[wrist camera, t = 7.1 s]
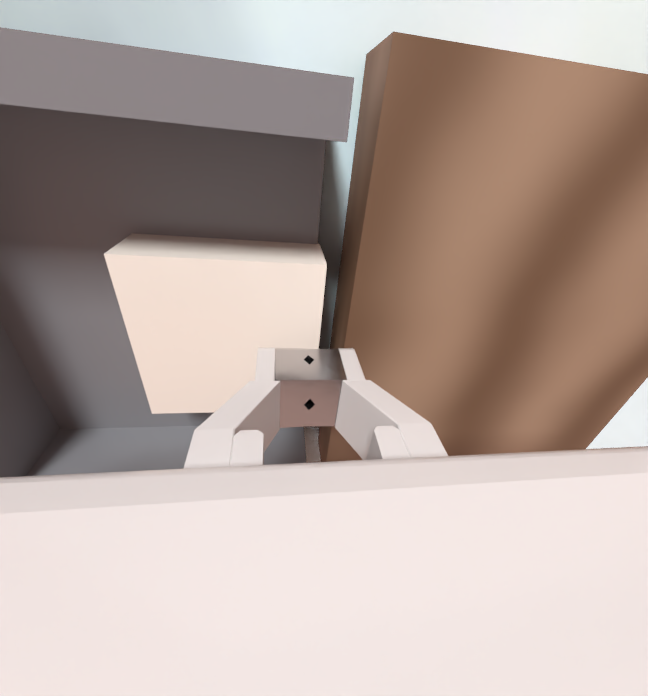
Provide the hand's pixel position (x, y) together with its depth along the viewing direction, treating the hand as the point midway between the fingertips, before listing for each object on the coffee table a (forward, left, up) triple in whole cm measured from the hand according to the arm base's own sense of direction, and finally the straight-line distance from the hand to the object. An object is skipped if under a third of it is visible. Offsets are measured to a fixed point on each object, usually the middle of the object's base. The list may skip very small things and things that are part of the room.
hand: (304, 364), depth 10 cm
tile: (+2, 0, -3) cm, 4 cm away
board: (-9, 0, -4) cm, 9 cm away
